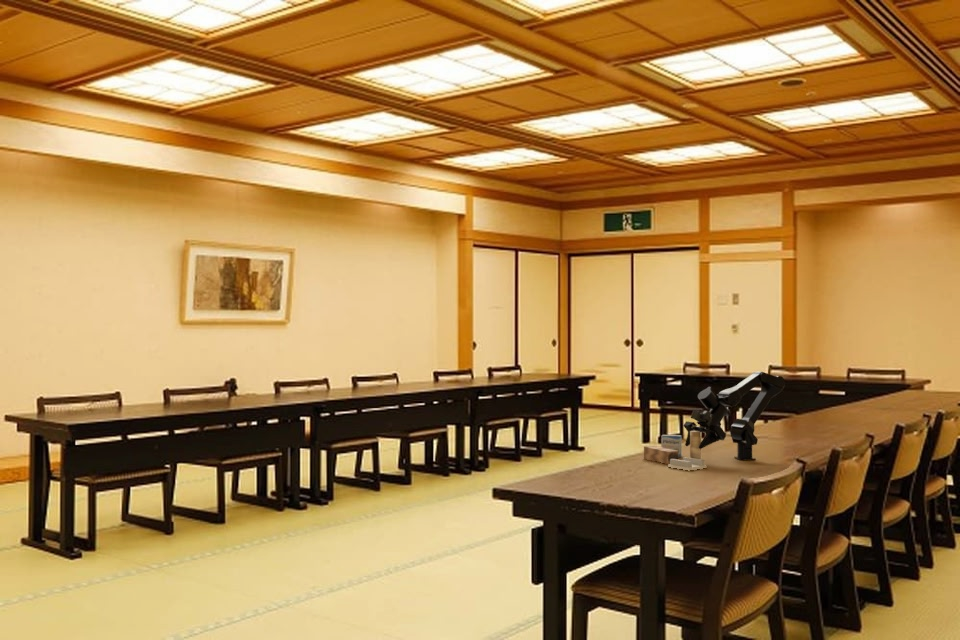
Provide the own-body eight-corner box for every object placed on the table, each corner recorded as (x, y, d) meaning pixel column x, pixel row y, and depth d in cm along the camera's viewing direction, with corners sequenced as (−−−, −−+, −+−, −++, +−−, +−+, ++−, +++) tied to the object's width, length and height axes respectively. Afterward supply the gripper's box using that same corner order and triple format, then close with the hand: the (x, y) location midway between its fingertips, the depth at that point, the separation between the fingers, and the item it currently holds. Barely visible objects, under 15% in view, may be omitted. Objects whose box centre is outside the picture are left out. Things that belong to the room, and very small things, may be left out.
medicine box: (661, 456, 364) (661, 435, 364) (662, 455, 369) (662, 434, 369) (681, 457, 362) (681, 436, 362) (681, 456, 366) (681, 434, 366)
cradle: (685, 465, 343) (685, 456, 343) (706, 468, 335) (706, 459, 335) (667, 467, 337) (667, 459, 337) (688, 471, 329) (688, 462, 329)
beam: (643, 459, 358) (643, 446, 358) (654, 458, 360) (654, 445, 360) (668, 464, 343) (668, 451, 344) (678, 464, 346) (678, 451, 346)
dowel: (688, 463, 348) (688, 431, 348) (698, 463, 348) (698, 430, 348) (692, 464, 344) (692, 432, 344) (702, 464, 344) (702, 432, 344)
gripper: (687, 401, 356) (665, 430, 351) (720, 404, 340) (697, 435, 334) (702, 419, 360) (680, 449, 355) (735, 424, 343) (713, 455, 338)
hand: (692, 446), depth 345 cm, fingers open, 7 cm apart
